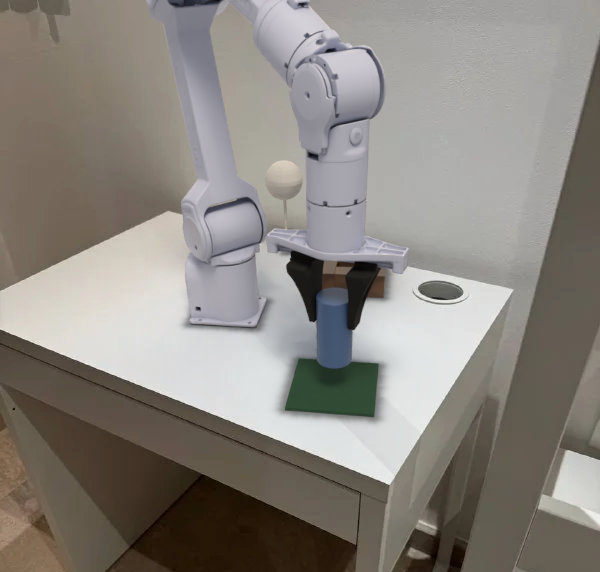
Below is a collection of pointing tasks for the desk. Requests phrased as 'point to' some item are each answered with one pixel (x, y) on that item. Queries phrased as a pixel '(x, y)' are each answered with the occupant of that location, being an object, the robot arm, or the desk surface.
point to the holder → (336, 279)
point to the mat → (334, 388)
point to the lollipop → (284, 182)
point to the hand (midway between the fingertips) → (334, 321)
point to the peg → (333, 328)
